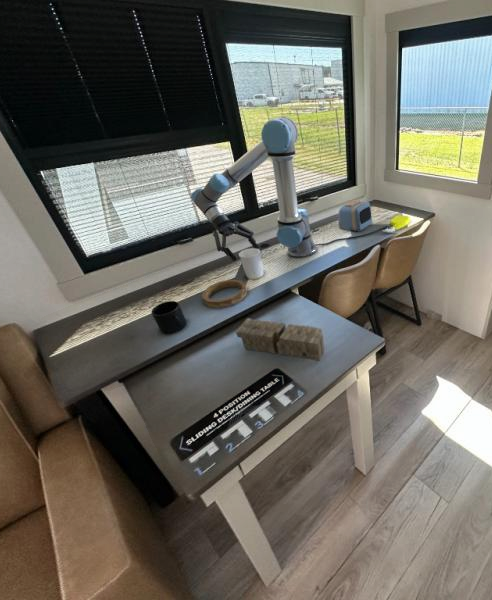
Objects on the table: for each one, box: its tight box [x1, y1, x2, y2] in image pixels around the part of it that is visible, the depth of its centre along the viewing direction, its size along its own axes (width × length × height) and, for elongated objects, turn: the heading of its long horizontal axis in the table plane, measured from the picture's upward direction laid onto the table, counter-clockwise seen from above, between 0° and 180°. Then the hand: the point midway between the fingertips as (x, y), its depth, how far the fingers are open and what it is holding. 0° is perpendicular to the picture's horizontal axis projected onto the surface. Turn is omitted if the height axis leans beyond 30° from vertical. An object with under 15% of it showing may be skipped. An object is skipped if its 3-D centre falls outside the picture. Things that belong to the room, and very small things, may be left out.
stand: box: [202, 279, 248, 309], centre depth 138 cm, size 18×18×3 cm
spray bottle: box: [382, 214, 411, 234], centre depth 194 cm, size 3×11×24 cm
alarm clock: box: [338, 199, 373, 232], centre depth 195 cm, size 16×16×16 cm
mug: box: [150, 300, 188, 335], centre depth 119 cm, size 9×12×9 cm
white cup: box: [238, 247, 265, 280], centre depth 151 cm, size 10×10×12 cm
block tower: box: [235, 317, 325, 361], centre depth 106 cm, size 8×8×29 cm
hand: (247, 254), depth 149 cm, fingers open, 13 cm apart
